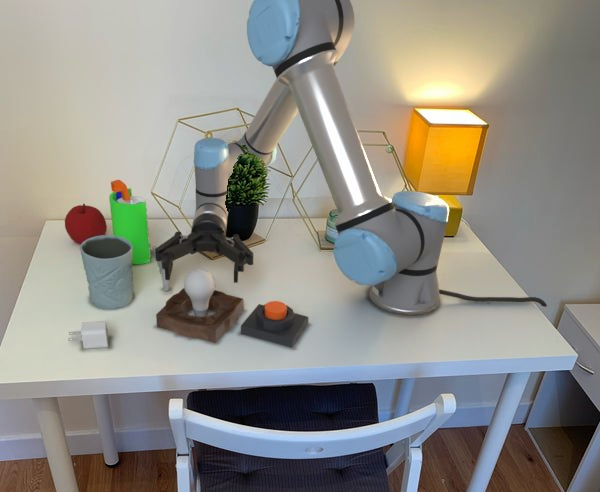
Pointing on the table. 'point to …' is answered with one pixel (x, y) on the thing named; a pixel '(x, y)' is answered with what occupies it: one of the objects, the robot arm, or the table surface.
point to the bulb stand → (200, 327)
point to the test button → (275, 310)
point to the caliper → (162, 272)
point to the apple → (84, 223)
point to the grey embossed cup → (108, 270)
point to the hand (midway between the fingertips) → (201, 275)
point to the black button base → (275, 327)
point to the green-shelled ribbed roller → (130, 220)
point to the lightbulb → (199, 290)
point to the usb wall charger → (92, 335)
